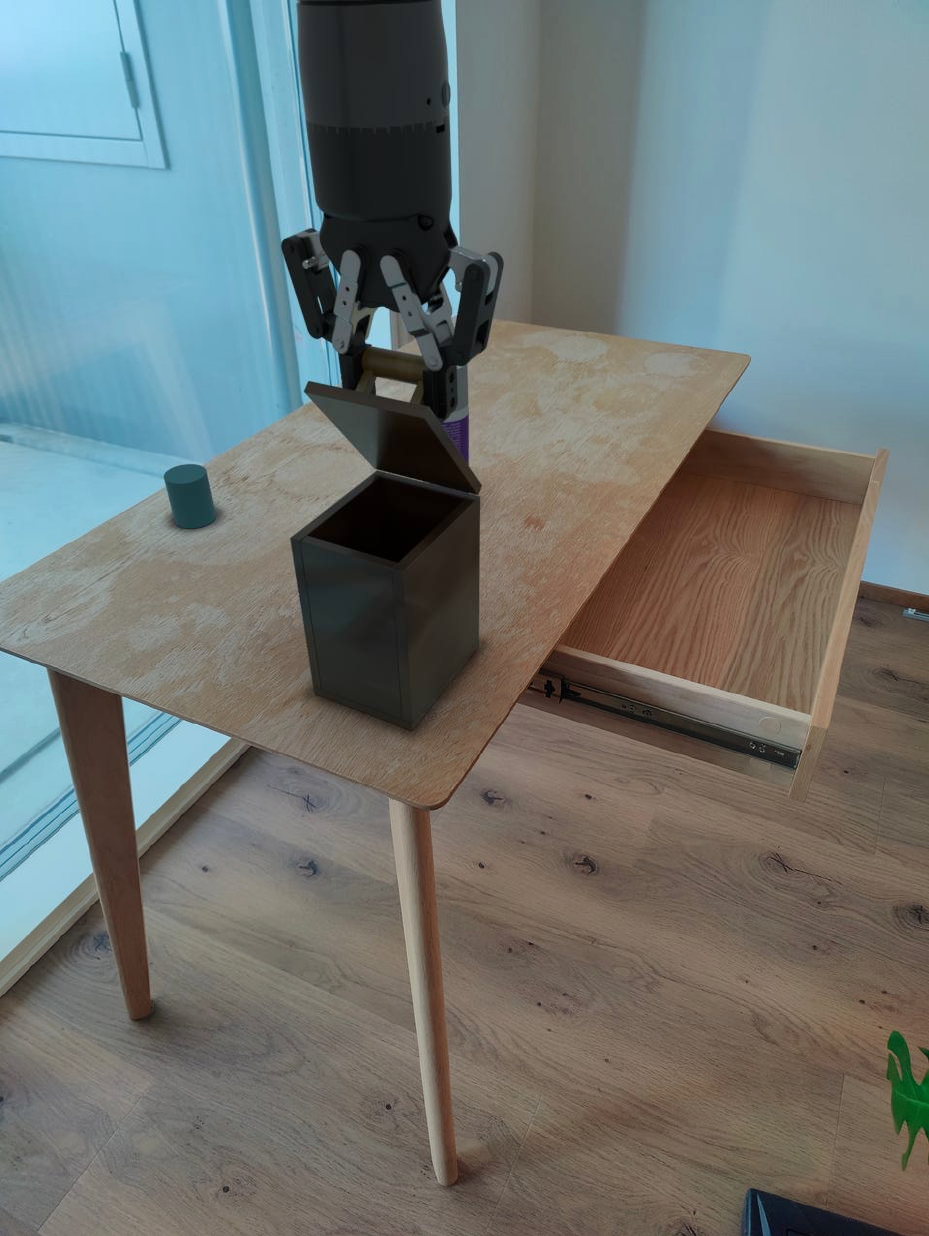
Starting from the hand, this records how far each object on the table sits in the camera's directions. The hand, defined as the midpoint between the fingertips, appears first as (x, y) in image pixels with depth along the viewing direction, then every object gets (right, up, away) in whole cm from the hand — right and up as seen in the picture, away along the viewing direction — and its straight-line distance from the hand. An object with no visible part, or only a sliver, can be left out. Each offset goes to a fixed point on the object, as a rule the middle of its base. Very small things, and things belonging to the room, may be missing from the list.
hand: (400, 411), depth 54 cm
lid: (0, -2, +1) cm, 2 cm away
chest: (-1, -17, +11) cm, 21 cm away
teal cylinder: (-23, -3, +29) cm, 37 cm away
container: (+2, -2, +31) cm, 31 cm away
